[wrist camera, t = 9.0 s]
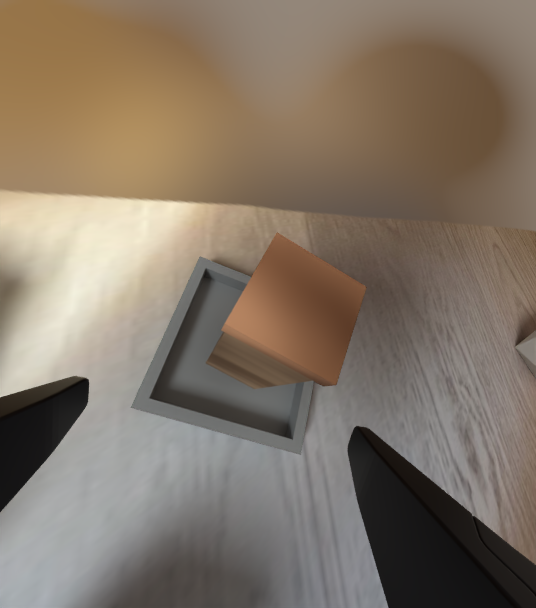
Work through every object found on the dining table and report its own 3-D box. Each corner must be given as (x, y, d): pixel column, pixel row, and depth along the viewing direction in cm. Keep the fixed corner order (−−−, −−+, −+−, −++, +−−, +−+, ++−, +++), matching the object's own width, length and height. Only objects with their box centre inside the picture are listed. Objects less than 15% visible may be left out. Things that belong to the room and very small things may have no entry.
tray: (289, 449, 20) (300, 454, 18) (136, 406, 18) (130, 407, 16) (316, 314, 25) (327, 307, 23) (198, 268, 23) (199, 256, 21)
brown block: (255, 392, 20) (336, 384, 10) (201, 364, 20) (224, 323, 9) (278, 340, 23) (366, 287, 12) (230, 313, 22) (277, 232, 11)
